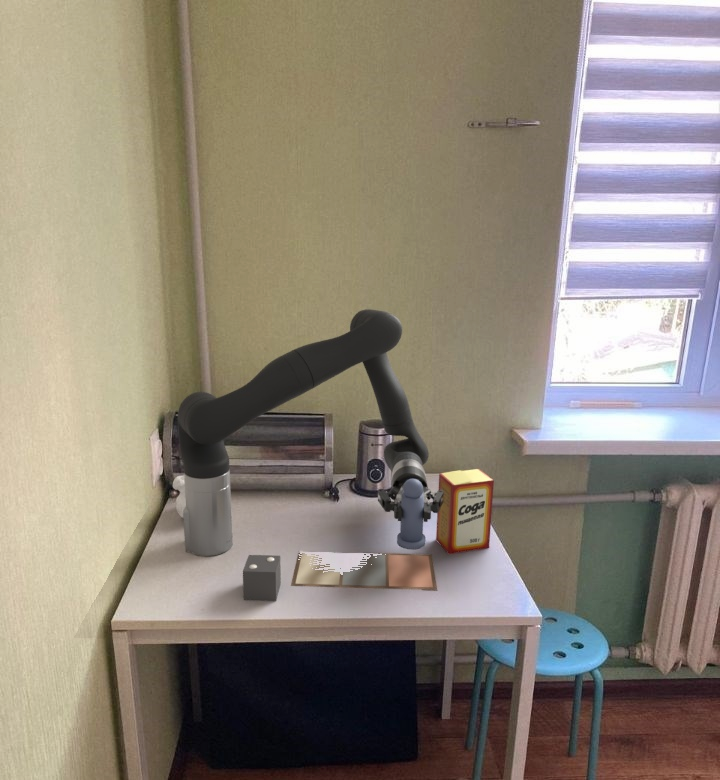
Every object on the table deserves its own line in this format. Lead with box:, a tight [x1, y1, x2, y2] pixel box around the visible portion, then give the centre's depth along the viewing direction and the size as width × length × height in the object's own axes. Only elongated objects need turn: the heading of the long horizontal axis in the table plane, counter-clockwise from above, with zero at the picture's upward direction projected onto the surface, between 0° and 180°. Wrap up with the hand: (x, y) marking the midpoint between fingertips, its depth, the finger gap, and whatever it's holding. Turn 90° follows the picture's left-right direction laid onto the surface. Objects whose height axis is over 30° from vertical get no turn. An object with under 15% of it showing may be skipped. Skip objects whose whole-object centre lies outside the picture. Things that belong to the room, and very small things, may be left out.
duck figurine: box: [172, 474, 186, 519], centre depth 154 cm, size 12×8×11 cm
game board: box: [290, 552, 438, 591], centre depth 133 cm, size 28×14×1 cm, turn 89°
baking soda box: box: [435, 468, 495, 555], centre depth 142 cm, size 10×6×16 cm
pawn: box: [396, 479, 427, 551], centre depth 130 cm, size 6×6×14 cm
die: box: [242, 554, 282, 602], centre depth 124 cm, size 6×6×6 cm
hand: (413, 516), depth 127 cm, fingers closed on pawn, 4 cm apart
